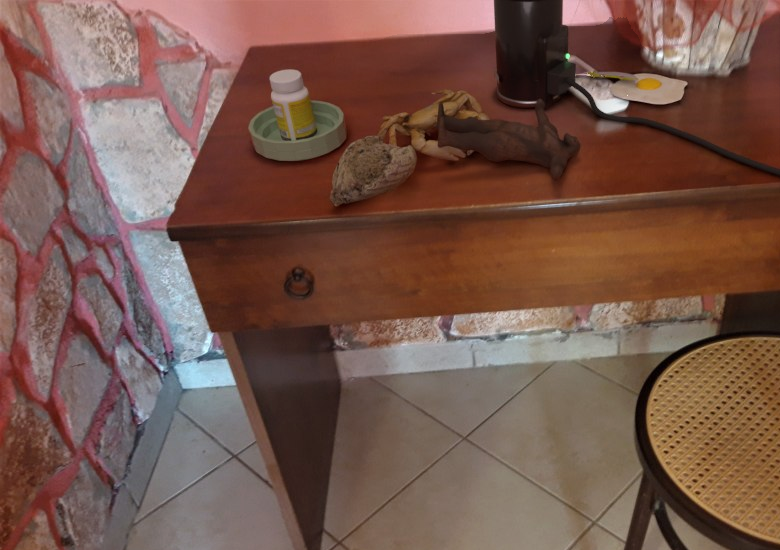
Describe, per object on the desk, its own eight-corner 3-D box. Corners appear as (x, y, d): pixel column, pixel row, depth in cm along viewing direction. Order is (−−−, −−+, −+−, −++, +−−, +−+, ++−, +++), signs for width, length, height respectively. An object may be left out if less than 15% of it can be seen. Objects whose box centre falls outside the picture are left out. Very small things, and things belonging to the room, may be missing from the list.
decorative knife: (648, 71, 112) (635, 79, 109) (647, 74, 112) (635, 83, 109) (575, 68, 117) (561, 76, 114) (576, 72, 118) (561, 80, 114)
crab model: (429, 181, 93) (426, 138, 89) (361, 149, 99) (356, 108, 96) (514, 141, 102) (515, 101, 98) (447, 115, 108) (445, 76, 104)
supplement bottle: (322, 129, 104) (309, 68, 98) (312, 146, 100) (298, 83, 95) (288, 129, 104) (273, 67, 98) (276, 145, 101) (260, 83, 95)
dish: (366, 134, 104) (363, 112, 102) (300, 173, 96) (295, 151, 94) (301, 113, 109) (297, 92, 107) (234, 149, 101) (228, 128, 99)
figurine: (437, 76, 97) (574, 97, 101) (432, 113, 100) (564, 132, 104) (442, 147, 84) (597, 168, 88) (436, 187, 88) (586, 205, 92)
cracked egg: (628, 70, 117) (628, 62, 116) (698, 80, 112) (699, 72, 111) (599, 95, 110) (599, 87, 109) (673, 107, 105) (674, 98, 105)
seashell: (335, 231, 92) (376, 209, 84) (297, 182, 90) (336, 154, 82) (394, 184, 98) (437, 159, 91) (360, 136, 96) (402, 107, 88)
